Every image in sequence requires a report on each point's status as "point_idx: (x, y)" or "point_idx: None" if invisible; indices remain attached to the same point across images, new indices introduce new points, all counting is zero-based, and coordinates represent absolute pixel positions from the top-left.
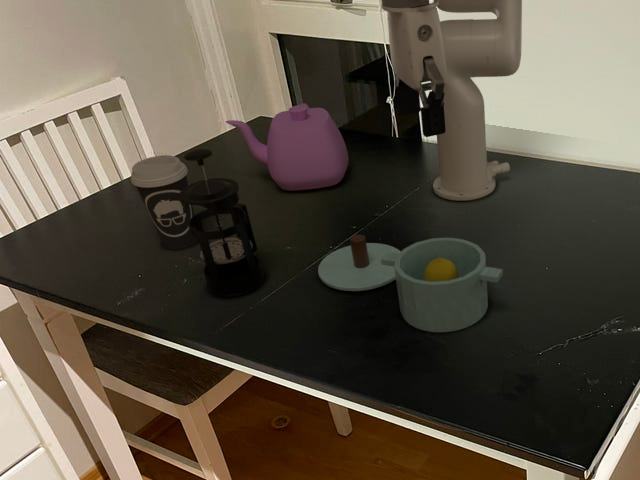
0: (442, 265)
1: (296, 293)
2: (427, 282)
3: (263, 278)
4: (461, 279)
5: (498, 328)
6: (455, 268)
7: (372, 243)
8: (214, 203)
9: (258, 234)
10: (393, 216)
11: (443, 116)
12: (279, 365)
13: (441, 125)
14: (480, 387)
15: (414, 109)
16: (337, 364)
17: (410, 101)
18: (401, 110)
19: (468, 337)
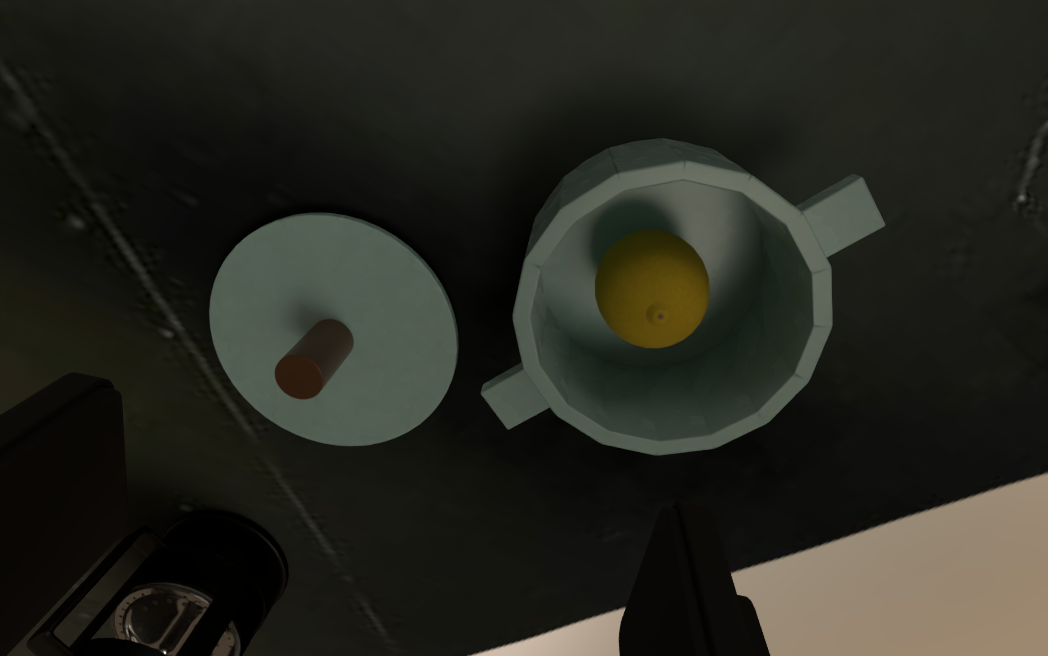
0: (683, 318)
1: (346, 493)
2: (751, 423)
3: (247, 524)
4: (823, 341)
5: None
6: (692, 268)
7: (232, 255)
8: None
9: None
10: (56, 78)
11: (735, 618)
12: (581, 619)
13: (756, 614)
14: (977, 388)
15: (101, 445)
16: None
17: (46, 525)
18: (101, 555)
19: None
